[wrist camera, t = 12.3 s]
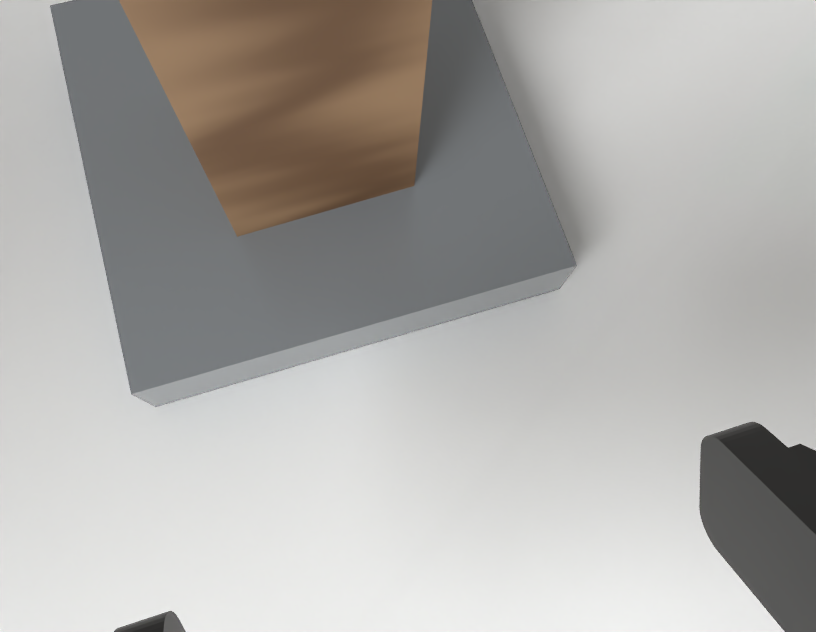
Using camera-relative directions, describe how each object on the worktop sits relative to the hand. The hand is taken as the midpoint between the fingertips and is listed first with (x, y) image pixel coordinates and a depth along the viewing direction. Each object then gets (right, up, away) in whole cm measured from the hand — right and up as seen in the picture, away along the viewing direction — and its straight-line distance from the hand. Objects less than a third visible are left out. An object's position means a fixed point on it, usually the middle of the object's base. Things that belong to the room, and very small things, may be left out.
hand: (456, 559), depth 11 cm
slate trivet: (-4, +8, +12) cm, 15 cm away
